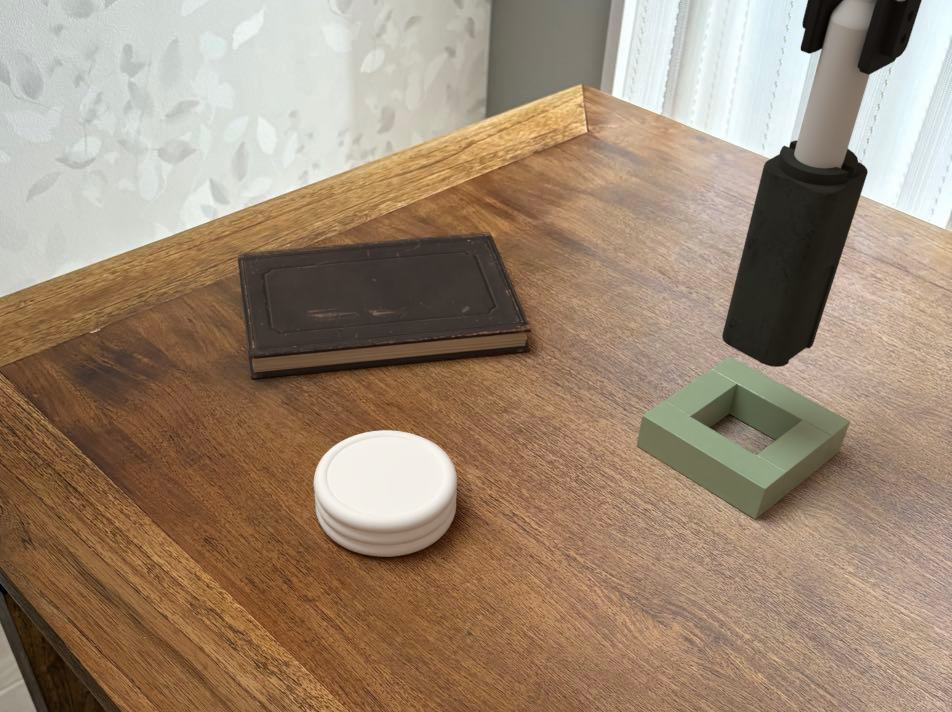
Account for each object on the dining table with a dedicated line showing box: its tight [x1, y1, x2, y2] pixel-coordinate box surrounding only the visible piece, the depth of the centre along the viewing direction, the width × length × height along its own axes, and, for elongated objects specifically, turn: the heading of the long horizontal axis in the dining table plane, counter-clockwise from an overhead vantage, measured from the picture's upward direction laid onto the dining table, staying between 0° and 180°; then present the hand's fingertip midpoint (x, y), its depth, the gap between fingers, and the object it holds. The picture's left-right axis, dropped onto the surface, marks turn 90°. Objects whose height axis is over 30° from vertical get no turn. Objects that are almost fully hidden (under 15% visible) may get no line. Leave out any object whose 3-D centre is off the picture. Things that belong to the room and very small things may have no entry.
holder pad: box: [636, 356, 851, 520], centre depth 83 cm, size 11×11×3 cm
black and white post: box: [721, 0, 877, 368], centre depth 68 cm, size 5×5×25 cm
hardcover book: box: [236, 231, 532, 380], centre depth 96 cm, size 16×23×2 cm
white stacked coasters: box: [312, 429, 458, 558], centre depth 78 cm, size 10×10×4 cm
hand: (848, 53), depth 63 cm, fingers closed on black and white post, 3 cm apart
